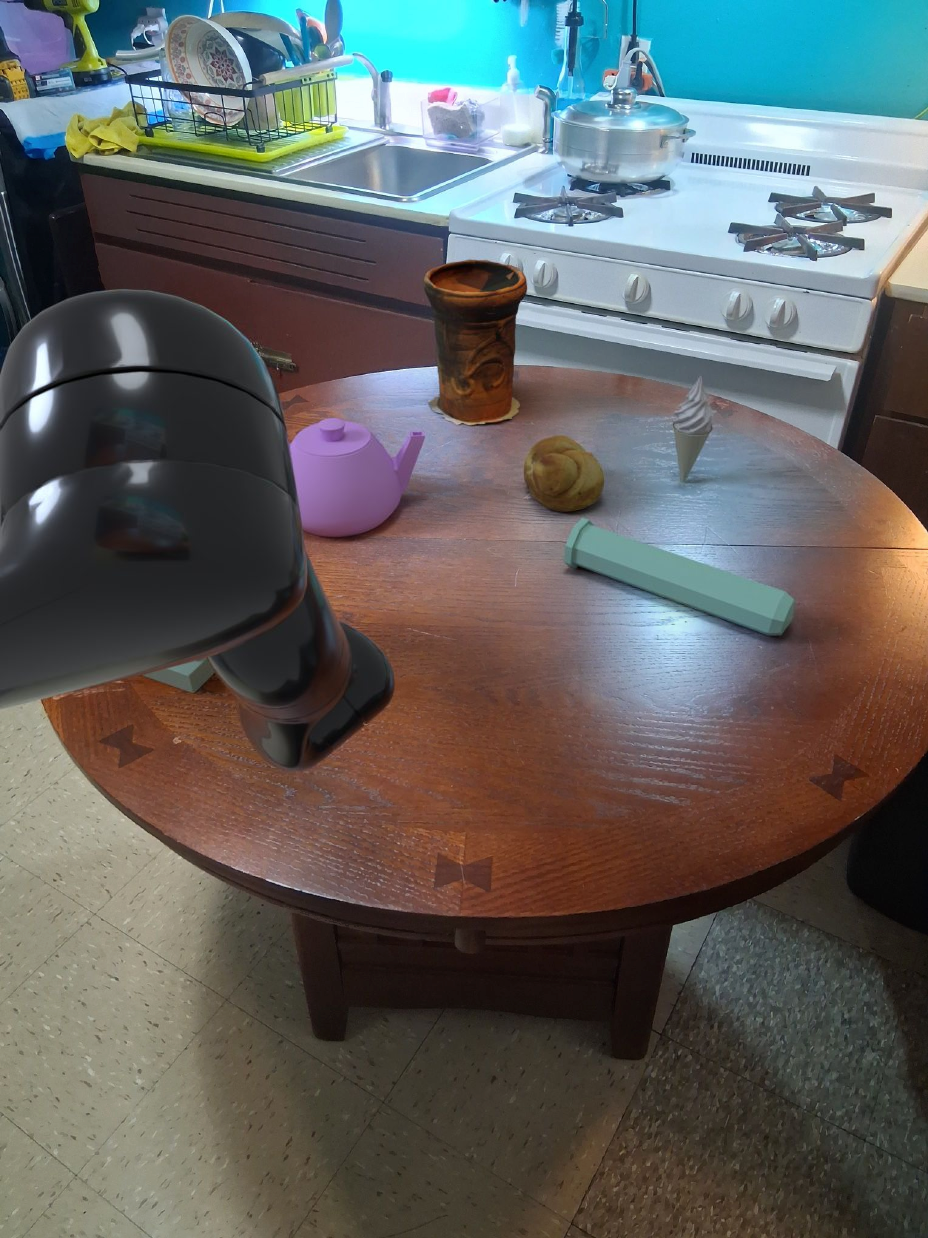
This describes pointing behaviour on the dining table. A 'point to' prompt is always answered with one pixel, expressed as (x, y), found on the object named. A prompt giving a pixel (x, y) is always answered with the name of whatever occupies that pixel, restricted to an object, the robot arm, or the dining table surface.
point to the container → (680, 579)
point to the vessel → (475, 338)
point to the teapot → (348, 477)
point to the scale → (185, 675)
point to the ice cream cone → (692, 428)
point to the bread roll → (563, 474)
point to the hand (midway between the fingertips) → (146, 492)
